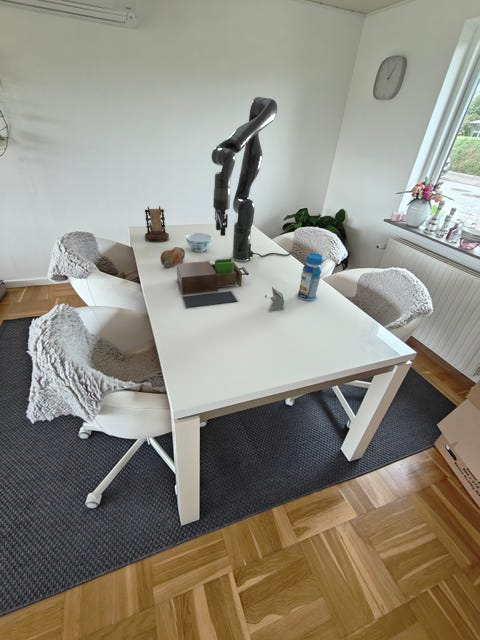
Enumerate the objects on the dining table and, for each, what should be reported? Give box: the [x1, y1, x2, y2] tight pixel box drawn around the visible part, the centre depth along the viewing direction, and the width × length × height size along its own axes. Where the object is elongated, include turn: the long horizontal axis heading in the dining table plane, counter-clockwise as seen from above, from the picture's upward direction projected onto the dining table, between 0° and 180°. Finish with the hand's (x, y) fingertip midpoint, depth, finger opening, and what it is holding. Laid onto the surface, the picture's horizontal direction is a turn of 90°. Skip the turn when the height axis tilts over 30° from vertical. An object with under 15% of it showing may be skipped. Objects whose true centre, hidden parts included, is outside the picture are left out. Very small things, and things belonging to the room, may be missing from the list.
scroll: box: [144, 205, 170, 243], centre depth 185 cm, size 15×15×20 cm
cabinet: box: [175, 260, 218, 296], centre depth 139 cm, size 16×15×9 cm
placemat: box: [182, 290, 238, 309], centre depth 132 cm, size 22×9×1 cm, turn 109°
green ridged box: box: [214, 258, 233, 274], centre depth 142 cm, size 8×4×10 cm, turn 109°
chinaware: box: [185, 232, 213, 253], centre depth 177 cm, size 15×15×8 cm
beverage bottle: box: [297, 252, 324, 301], centre depth 133 cm, size 8×8×20 cm
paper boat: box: [264, 286, 285, 312], centre depth 129 cm, size 12×6×9 cm
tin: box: [159, 246, 186, 268], centre depth 158 cm, size 15×3×8 cm, turn 143°
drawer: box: [210, 261, 250, 288], centre depth 144 cm, size 19×13×7 cm
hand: (220, 232), depth 146 cm, fingers open, 8 cm apart
